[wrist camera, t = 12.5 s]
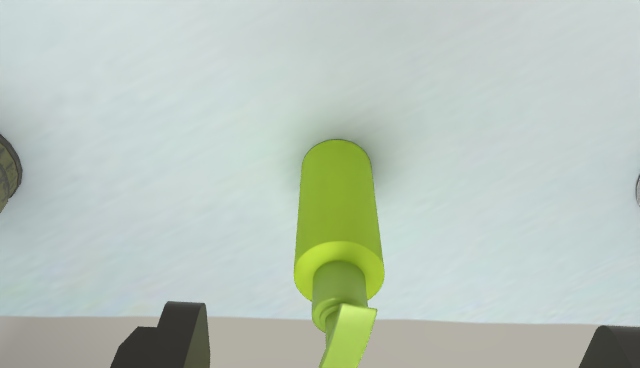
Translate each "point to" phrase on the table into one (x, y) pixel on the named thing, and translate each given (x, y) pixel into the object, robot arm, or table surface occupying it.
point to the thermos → (8, 172)
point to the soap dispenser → (339, 248)
